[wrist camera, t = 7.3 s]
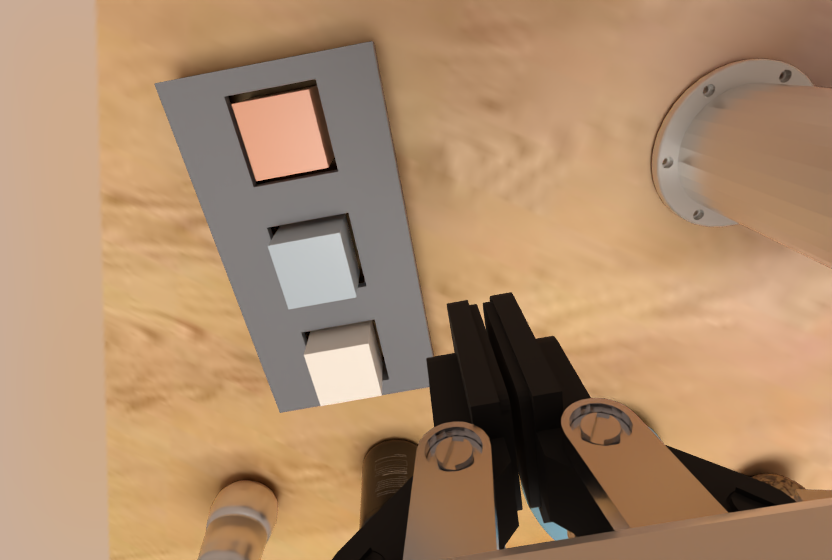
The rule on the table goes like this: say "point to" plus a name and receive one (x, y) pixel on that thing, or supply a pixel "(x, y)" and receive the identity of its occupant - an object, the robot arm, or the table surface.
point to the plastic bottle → (239, 522)
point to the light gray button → (315, 261)
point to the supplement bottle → (385, 474)
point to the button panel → (307, 213)
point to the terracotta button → (285, 133)
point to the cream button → (344, 363)
